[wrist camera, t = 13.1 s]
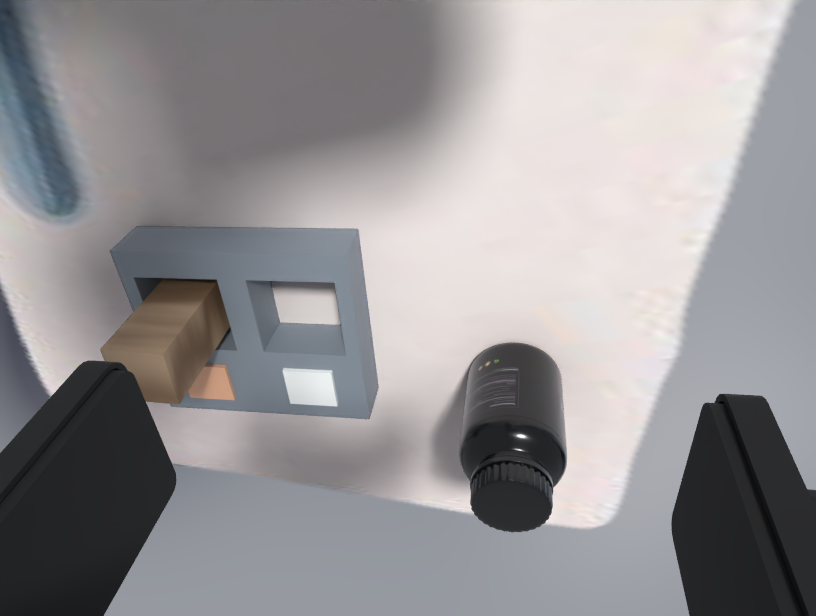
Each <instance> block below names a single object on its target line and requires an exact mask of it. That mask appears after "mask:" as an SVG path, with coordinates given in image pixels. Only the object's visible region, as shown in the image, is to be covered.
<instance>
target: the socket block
mask: <svg viewBox="0 0 816 616" xmlns="http://www.w3.org/2000/svg"><path fill="white" fill-rule="evenodd" d="M110 253H111V255H112V258H113V261H114V263H115V266H116V268H117V271H118V273H119V276H120V278H121V281H122V283H123V286H124V289H125V291H126V294H127V296H128V299H129V301H130V304H131V306H132V309H133V311H135V310H136V309H137V308H138V307H139V306H140V305H141V303H142V302H143V301H144V300H145V299H146V298H147V297H148V296H149V294H150V293H151V292H152V291H153V290H154V289H155V288H156V287H157V285H158V284H159V283H160V282H161V281H162V280H163V279H164V278H177V279H215V280H217V282H218V286H219V289H220V293H221V296H222V300H223V303H224V306H225V310H226V313H227V317H228V320H229V324H230V328H229V329H228V331H227V332H226V334H225V335H224V337H223V338H222V340H221V342H220V343H219V345H218V346H217V348H216V349H215V351H214V352H213V354H212V355H211V357H210V358H209V360H208V362H207V363H206V365H205V366H204V368H203V369H202V371H201V372H200V374H199V375H198V377H197V378H196V380H195V382H194V383H193V385H192V386H191V388H190V389H189V391H188V392H187V394H186V395H185V397H184V398H183V400H182V402H181V403H180V404H170V405H171V407H186V408H201V409H217V410H233V411H248V412H264V413H280V414H295V415H311V416H327V417H343V418H358V419H370V415H371V412H372V408H373V405H374V402H375V398H376V395H377V391H378V388H379V387H378V379H377V372H376V364H375V356H374V348H373V341H372V333H371V325H370V317H369V310H368V302H367V294H366V286H365V278H364V271H363V263H362V255H361V247H360V240H359V232H358V229H321V228H232V227H143V226H137V227H136V228H135V229H134V230H132V231H131V232H130V233H129V234H128V235H127V236H126V237H125V238H124V239H123V240H121V241H120V242H119V243H118V244H117V245H116V246H115V247H114V248H113V249H112V250H111V251H110ZM270 281H291V282H329V283H334V284H335V290H336V296H337V302H338V308H339V315H340V321H341V325H324V324H297V323H280V321H279V317H278V313H277V308H276V304H275V300H274V295H273V291H272V287H271V282H270Z"/></svg>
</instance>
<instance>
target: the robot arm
mask: <svg viewBox="0 0 816 616" xmlns="http://www.w3.org/2000/svg"><path fill="white" fill-rule="evenodd" d="M175 485H176V473H175V470H174V468H173V465H172V463H171V461H170V458H169V456H168V454H167V451H166V449H165V446H164V444H163V442H162V439H161V437H160V435H159V432H158V430H157V427H156V425H155V423H154V420H153V418H152V416H151V413H150V411H149V409H148V406H147V404H146V401H145V399H144V397H143V394H142V392H141V390H140V387H139V385H138V382H137V380H136V378H135V376H134V374H133V373H132V372H130V371H128V370H127V368H126V367H125V365H123V364H122V363H119V362H106V361H86V362H83V363H82V364H81V365H80V366H78V368H77V369H76V370H75V371H74V372H73V373H72V374H71V375H70V376H69V378H68V379H67V380H66V381H65V382H64V383H63V384H62V385H61V386H60V387H59V389H58V390H57V391H56V392H55V393H54V394H53V395H52V396H51V397H50V399H49V400H48V401H47V402H46V403H45V404H44V405H43V407H41V409H40V410H39V411H38V412H37V413H36V414H35V415H34V416H33V418H32V419H31V420H30V421H29V422H28V423H27V424H26V425H25V426H24V428H23V429H22V430H21V431H20V432H19V433H18V434H17V435H16V436H15V437H14V439H13V440H12V441H11V442H10V443H9V444H8V445H7V446H6V448H5V449H4V450H3V451H2V452H1V453H0V616H104V614H105V612H106V610H107V609H108V607H109V605H110V603H111V601H112V600H113V598H114V596H115V594H116V593H117V591H118V589H119V587H120V586H121V584H122V582H123V580H124V579H125V577H126V575H127V573H128V571H129V570H130V568H131V566H132V564H133V563H134V561H135V559H136V557H137V556H138V554H139V552H140V550H141V549H142V547H143V545H144V543H145V542H146V540H147V538H148V536H149V534H150V533H151V531H152V529H153V527H154V526H155V524H156V522H157V520H158V519H159V517H160V515H161V513H162V511H163V510H164V508H165V506H166V505H167V503H168V501H169V499H170V497H171V496H172V494H173V491H174V489H175ZM672 535H673V541H674V546H675V550H676V555H677V560H678V564H679V569H680V574H681V578H682V583H683V587H684V592H685V596H686V601H687V606H688V610H689V615H690V616H816V490H808V489H807V488H806V486H805V484H804V482H803V479H802V477H801V475H800V473H799V471H798V468H797V466H796V464H795V462H794V460H793V457H792V455H791V453H790V451H789V448H788V446H787V444H786V442H785V440H784V437H783V435H782V433H781V431H780V428H779V426H778V424H777V422H776V420H775V417H774V415H773V413H772V411H771V409H770V406H769V404H768V402H767V401H766V399H765V398H764V397H762V396H753V395H735V394H719V396H718V397H717V398H716V401H715V403H705V404H704V405H703V407H702V410H701V413H700V417H699V420H698V424H697V428H696V431H695V435H694V438H693V442H692V446H691V449H690V453H689V456H688V460H687V464H686V467H685V471H684V474H683V478H682V482H681V485H680V489H679V492H678V496H677V500H676V503H675V507H674V511H673V515H672Z"/></svg>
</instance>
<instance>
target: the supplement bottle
mask: <svg viewBox="0 0 816 616" xmlns="http://www.w3.org/2000/svg"><path fill="white" fill-rule="evenodd" d="M459 459H460V464H461V467H462V469H463V471H464V473H465V475H466V476H467V478H468V479H469V480H470V489H471V500H470V504H471V506H472V511H474V514H475V515H476V516H477V517H478V519H479V520H481V521H482V522H483V523H485V524H487V525H489V526H490V527H493V528H495V529H497V530H502V531H509V532H522V531H529V530H533V529H535V528H536V527H540V526H541V525H542V524H544V523H545V522H546V520H548V519H549V516H550V515H551V513H552V507H553V502H552V495H553V487H555V486H556V484H557V483H558V482H559V481H560V480H561V478H562V476H563V474H564V472H565V469H566V465H567V448H566V434H565V420H564V405H563V391H562V380H561V374H560V371H559V368H558V366H557V365H556V363H555V362H554V360H553V359H552V358H551V357H550V356H549V355H548V354H546V353H545V352H544V351H542V350H540V349H539V348H536V347H534V346H531V345H528V344H523V343H503V344H499V345H495V346H493V347H490V348H488V349H487V350H485V351H484V352H482V353H481V354H480V355H479V356H478V357H477V358H476V359H475V360H474V362H473V363H472V365H471V367H470V370H469V375H468V381H467V389H466V397H465V405H464V414H463V422H462V430H461V438H460V449H459Z"/></svg>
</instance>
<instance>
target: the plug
mask: <svg viewBox="0 0 816 616" xmlns="http://www.w3.org/2000/svg"><path fill="white" fill-rule="evenodd" d="M229 328H230V324H229V320H228V317H227V313H226V310H225V306H224V303H223V300H222V296H221V293H220V289H219V286H218V282H217V280H215V279H177V278H164V279H163V280H162V281H161V282H160V283H159V284H158V285H157V287H156V288H155V289H154V290H153V291H152V292H151V293H150V294H149V296H148V297H147V298H146V299H145V300H144V301H143V302H142V303H141V305H140V306H139V307H138V308H137V309H136V310H135V311H134V312H133V314H132V315H131V316H130V317H129V318H128V319H127V320H126V321H125V323H124V324H123V325H122V326H121V327H120V328H119V329H118V330H117V332H116V333H115V334H114V335H113V336H112V337H111V338H110V339H109V340H108V342H107V343H106V344H105V345H104V346H103V347H102V348H101V349H100V350H101V353H102V355H103V358H104V360H105V361H106V362H119V363H122V364H123V365H125V367H126V368H127V370H128V371H130V372H132V373H133V374H134V376H135V378H136V380H137V382H138V385H139V387H140V390H141V392H142V394H143V397H144V399H145V401H147V402H159V403H170V404H180V403H181V402H182V400H183V398H184V397H185V395H186V394H187V392H188V391H189V389H190V388H191V386H192V385H193V383H194V382H195V380H196V378H197V377H198V375H199V374H200V372H201V371H202V369H203V368H204V366H205V365H206V363H207V362H208V360H209V358H210V357H211V355H212V354H213V352H214V351H215V349H216V348H217V346H218V345H219V343H220V342H221V340H222V338H223V337H224V335H225V334H226V332H227V331H228V329H229Z"/></svg>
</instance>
